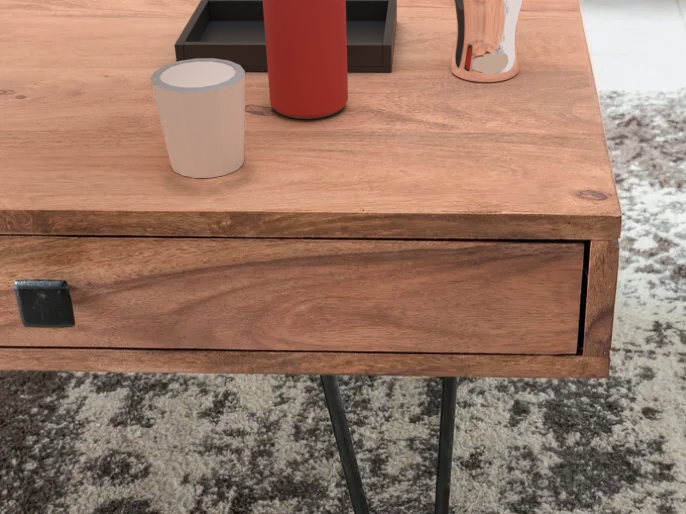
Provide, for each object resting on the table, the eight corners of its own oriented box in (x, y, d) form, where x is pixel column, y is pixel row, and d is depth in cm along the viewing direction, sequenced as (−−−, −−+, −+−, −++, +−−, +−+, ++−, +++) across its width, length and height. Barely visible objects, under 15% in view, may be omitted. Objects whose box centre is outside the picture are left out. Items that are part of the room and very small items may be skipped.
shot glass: (263, 146, 83) (256, 59, 78) (236, 185, 77) (227, 94, 73) (181, 140, 84) (170, 54, 80) (148, 177, 79) (135, 87, 74)
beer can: (302, 86, 93) (294, -56, 85) (363, 101, 89) (361, -45, 82) (254, 111, 88) (242, -37, 81) (316, 128, 85) (310, -24, 78)
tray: (177, 71, 96) (174, 44, 95) (204, 22, 107) (201, -3, 106) (391, 72, 95) (391, 45, 93) (396, 22, 106) (396, -3, 104)
